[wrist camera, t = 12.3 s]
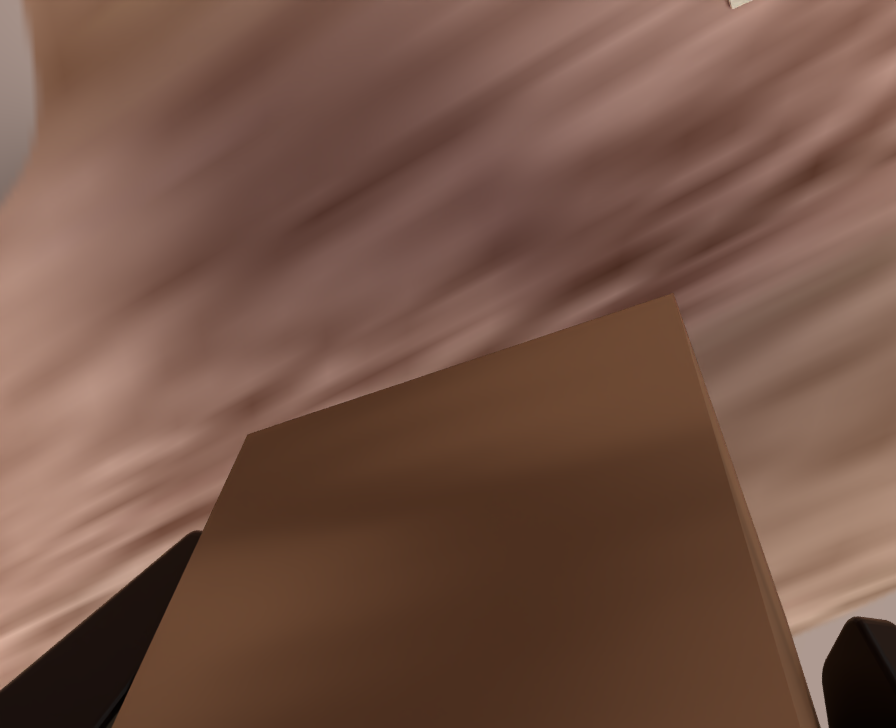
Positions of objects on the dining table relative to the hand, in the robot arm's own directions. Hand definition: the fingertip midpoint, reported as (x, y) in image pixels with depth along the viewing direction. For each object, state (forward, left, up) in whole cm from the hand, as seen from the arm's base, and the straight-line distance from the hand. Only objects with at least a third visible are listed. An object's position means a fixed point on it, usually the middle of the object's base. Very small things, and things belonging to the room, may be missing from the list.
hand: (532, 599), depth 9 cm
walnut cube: (0, 0, -1) cm, 1 cm away
